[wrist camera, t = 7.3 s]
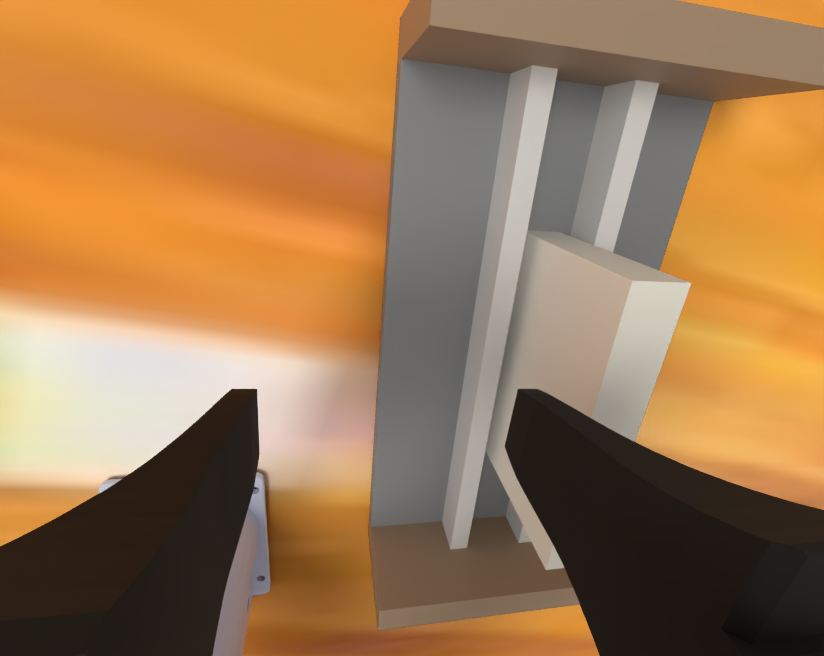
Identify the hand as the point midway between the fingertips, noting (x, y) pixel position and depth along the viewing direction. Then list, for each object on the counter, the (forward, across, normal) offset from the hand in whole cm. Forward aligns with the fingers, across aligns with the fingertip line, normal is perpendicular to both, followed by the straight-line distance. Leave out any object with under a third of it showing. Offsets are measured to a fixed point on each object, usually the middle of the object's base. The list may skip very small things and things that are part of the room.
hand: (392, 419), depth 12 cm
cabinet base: (+10, -8, +2) cm, 13 cm away
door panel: (+9, -8, +2) cm, 12 cm away
